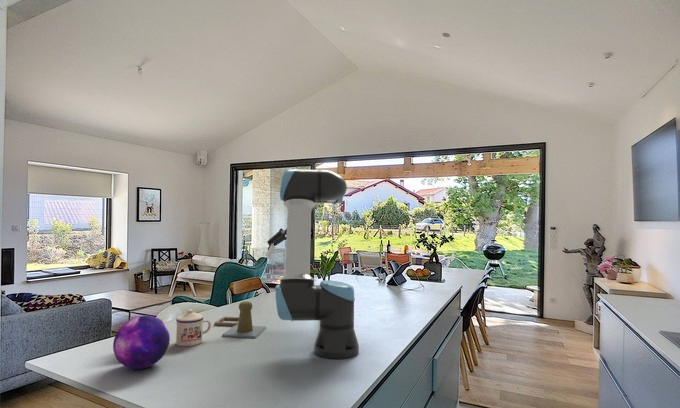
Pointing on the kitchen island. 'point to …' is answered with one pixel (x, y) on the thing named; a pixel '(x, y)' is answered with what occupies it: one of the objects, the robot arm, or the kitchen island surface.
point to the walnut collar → (221, 323)
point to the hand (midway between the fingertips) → (281, 257)
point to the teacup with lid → (190, 328)
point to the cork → (245, 317)
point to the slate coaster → (253, 334)
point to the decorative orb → (141, 342)
